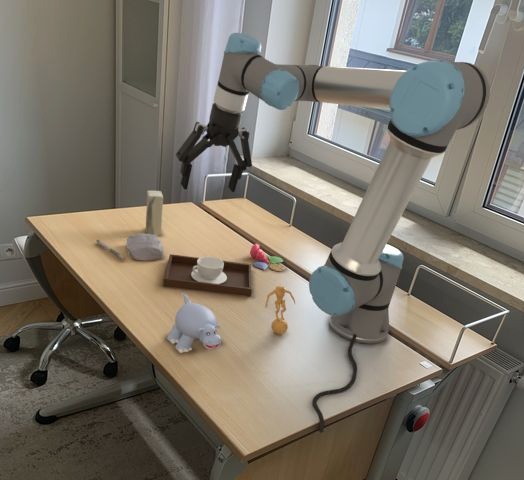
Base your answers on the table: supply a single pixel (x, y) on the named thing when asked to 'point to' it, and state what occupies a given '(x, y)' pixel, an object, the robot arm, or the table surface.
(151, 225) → the box
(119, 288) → the table surface
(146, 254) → the stone block
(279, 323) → the figurine
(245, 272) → the tray
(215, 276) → the teacup
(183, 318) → the hippopotamus toy
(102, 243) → the pen
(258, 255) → the toy pieces
